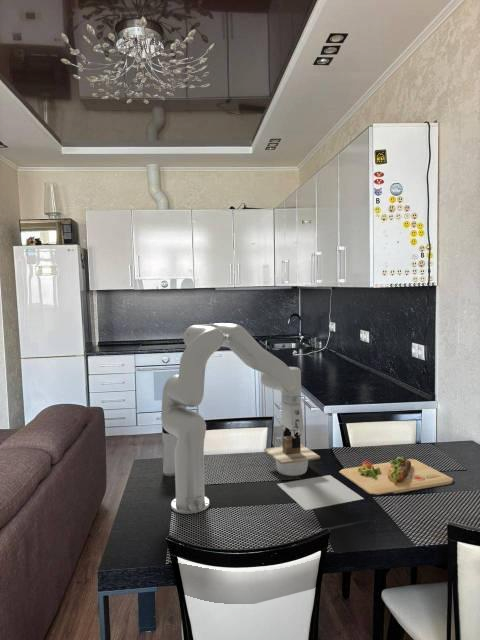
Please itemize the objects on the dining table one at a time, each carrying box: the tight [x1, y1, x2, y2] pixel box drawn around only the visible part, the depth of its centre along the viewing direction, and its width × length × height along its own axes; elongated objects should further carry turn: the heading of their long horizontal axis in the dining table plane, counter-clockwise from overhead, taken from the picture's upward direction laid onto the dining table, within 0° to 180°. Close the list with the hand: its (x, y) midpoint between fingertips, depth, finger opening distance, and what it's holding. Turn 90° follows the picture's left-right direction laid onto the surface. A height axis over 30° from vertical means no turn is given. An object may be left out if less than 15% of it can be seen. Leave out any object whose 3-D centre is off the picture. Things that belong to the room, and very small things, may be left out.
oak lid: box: [264, 435, 321, 464], centre depth 185 cm, size 16×16×7 cm
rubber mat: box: [276, 474, 365, 511], centre depth 166 cm, size 22×22×1 cm
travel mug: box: [161, 425, 178, 477], centre depth 186 cm, size 6×7×20 cm
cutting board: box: [338, 456, 454, 496], centre depth 179 cm, size 35×23×8 cm
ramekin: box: [275, 460, 309, 477], centre depth 186 cm, size 13×13×7 cm
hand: (291, 444), depth 185 cm, fingers open, 7 cm apart
